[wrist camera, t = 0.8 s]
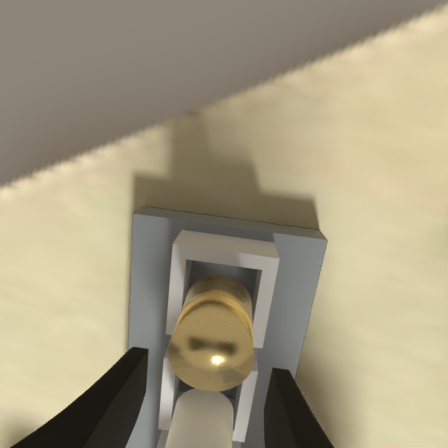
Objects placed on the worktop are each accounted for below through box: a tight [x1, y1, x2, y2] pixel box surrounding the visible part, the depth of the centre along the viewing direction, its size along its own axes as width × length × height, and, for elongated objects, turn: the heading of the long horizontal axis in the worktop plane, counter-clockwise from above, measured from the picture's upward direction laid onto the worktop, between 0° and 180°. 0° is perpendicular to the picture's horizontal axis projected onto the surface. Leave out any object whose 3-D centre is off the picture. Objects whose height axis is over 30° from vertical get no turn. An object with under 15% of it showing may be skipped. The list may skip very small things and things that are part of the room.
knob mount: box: [125, 206, 328, 448], centre depth 21 cm, size 22×12×4 cm, turn 173°
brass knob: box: [168, 275, 254, 392], centre depth 14 cm, size 4×4×4 cm
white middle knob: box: [165, 388, 234, 448], centre depth 17 cm, size 4×4×4 cm
